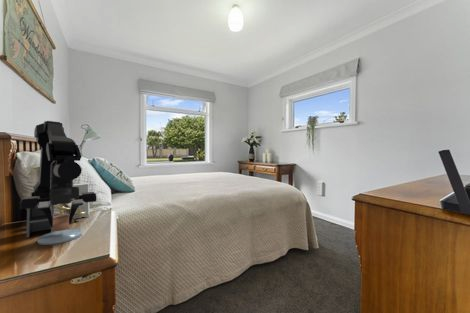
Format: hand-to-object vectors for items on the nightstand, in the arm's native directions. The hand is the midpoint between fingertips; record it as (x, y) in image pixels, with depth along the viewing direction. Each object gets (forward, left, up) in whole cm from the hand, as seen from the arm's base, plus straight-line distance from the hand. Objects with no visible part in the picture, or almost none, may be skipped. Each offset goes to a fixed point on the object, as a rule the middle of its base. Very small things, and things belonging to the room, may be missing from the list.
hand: (61, 225), depth 67 cm
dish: (0, 0, -4) cm, 4 cm away
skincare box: (-28, -8, -4) cm, 30 cm away
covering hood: (-7, -10, +1) cm, 12 cm away
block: (0, 0, -1) cm, 1 cm away
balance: (-18, -10, -4) cm, 21 cm away
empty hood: (-7, -10, -4) cm, 13 cm away
